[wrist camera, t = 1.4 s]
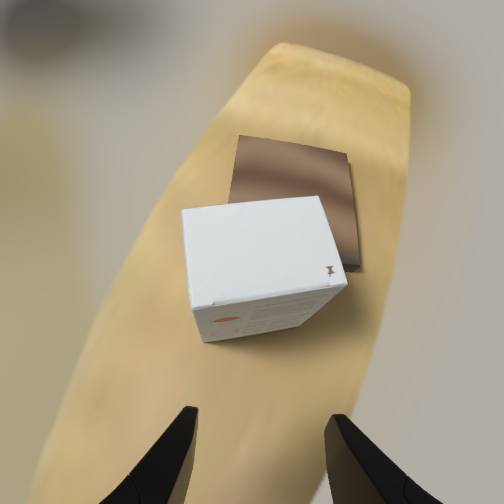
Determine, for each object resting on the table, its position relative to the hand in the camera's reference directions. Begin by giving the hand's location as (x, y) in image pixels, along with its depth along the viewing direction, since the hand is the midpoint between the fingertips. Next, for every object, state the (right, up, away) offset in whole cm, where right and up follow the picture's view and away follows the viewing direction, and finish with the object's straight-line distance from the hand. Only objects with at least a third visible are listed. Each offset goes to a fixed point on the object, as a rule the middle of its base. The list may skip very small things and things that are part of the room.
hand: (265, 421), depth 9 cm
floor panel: (+3, +10, +21) cm, 23 cm away
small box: (-1, +1, +16) cm, 16 cm away
